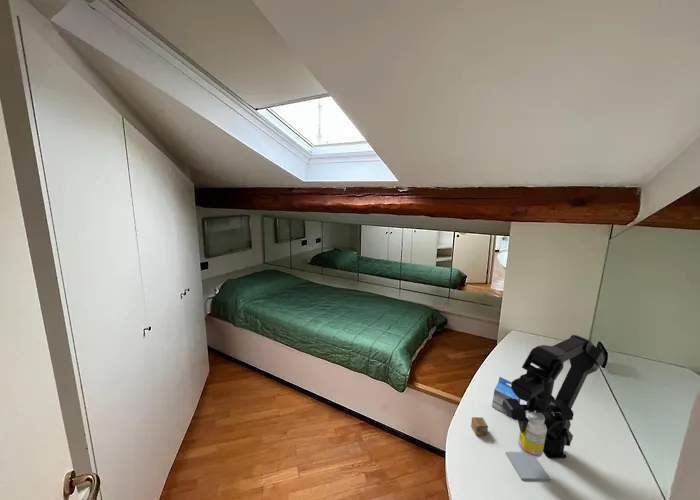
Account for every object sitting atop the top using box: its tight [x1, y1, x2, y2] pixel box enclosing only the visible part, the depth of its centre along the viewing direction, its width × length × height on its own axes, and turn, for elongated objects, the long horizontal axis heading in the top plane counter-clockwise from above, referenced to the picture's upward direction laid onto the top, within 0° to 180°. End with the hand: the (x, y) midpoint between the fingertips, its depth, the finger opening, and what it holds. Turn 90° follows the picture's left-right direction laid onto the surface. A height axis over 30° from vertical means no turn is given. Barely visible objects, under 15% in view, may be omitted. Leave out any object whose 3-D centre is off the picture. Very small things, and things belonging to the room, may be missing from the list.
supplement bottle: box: [517, 413, 547, 459], centre depth 90 cm, size 7×7×13 cm
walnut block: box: [470, 416, 489, 436], centre depth 106 cm, size 4×4×4 cm
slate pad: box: [505, 451, 551, 481], centre depth 93 cm, size 9×9×1 cm
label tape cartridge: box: [491, 376, 521, 417], centre depth 115 cm, size 9×4×12 cm, turn 42°
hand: (532, 432), depth 90 cm, fingers closed on supplement bottle, 7 cm apart
